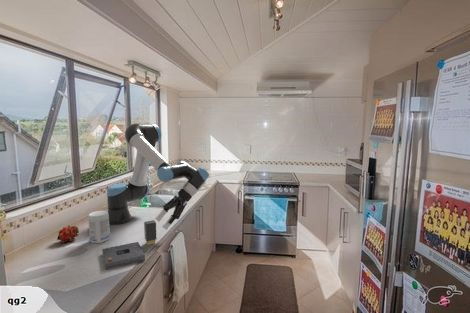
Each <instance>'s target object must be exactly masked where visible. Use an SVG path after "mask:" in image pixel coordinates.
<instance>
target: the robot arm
mask: <svg viewBox="0 0 470 313" xmlns="http://www.w3.org/2000/svg"><path fill="white" fill-rule="evenodd" d="M124 131H125V132H124V138H125V140H126V142H127V143H128V145H129V146H130V147H132V148H135V149H136V150H137V152H136V156H135V162H134V165H133V166H134V167H133V172H132V176H131V178H130V179H129V180H128V182H127V183H125V182H119V183H114V184H111V185H109V186H108V187H107V189H106V190H107V191H106V197H107V211H108V215H109V225H121V224H125V223H129V222H130V221H131V220H132V214H131V213H130V210H129V208H128V207H129V203H131V202H134V201H140V200H143V199H144V198H147V196H148V195H149V194H150V187H149V184H148V182H147V180H146V178H147V174H148V170H149V164H150V165H151V166H152V167H153V168H154V169H155V170H156V172H157V173H156V174H157V178H158V180H159V181H161V182H169V181H174V180H178V179H182V178H184V179H187V181H186V182H185V183H184V185H183V186H182V188H180V189H179V191H178V192H177V195H178V196H177V195H174V196H173V197H172V198H171V199H170V200H169V201H168V202H166V203H165V204H164V205H163V206H162V209H161V211H160V212H159V214H158V215H157V216H155V218H154V219H155V220H156V221H157V222H159V223H160V222H161V221H162V219H163V218H164V217H165V215H166V214H167V213H168V212H169V210H171V209H173V208H174V211H173V212H172V214H171V215H170V216H169V218H168V219H167V220H166V221H165V223H164V224H163V225H162V226H161V227H162V228H163V229H164V230H165V231H168V228H170V226H171V225H172V224H173V222H175V220H179V219H180V217H181V215H182V213H183V212H184V210H185V208H186V206H187V205H188V202H190V200H191V199H192V198H193V197H192V196H195V194H196V193H197V192H198V190H200V188H201V186H203V185H204V184H205V182H206V181H207V180H208V178H209V176H210V173H209V172H208V170H206V169H205V168H203V167H201V166H199V167H198V168H195V167H194V166H193V165H191V164H190V163H189V162H187V161H185V160H180V161H179V162H177V163H176V164H175V165H172V164H171V163H170V162H169V161H168V160H167V159H166V158H165V157H164V156H163V155H162V154H161V153H160V152H159V151H158V150H157V149H156V148H155V147H156V145H157V144H156V143H159V141H161V139H162V131H161V128H160V126H158V125H157V124H153V123H137V122H136V123H131V124H130V125H128V126H127V127H126V128H125V130H124Z"/></svg>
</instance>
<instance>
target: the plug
mask: <svg viewBox="0 0 470 313" xmlns="http://www.w3.org/2000/svg"><path fill="white" fill-rule="evenodd" d="M143 224H144V225H143V226H144V241H145V243H146V245H147V246H149V245H154V244H156V240H157V222H156V221H155V220H154V219H153V220H148V221H147V220H146V221H144V223H143Z"/></svg>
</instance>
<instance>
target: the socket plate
mask: <svg viewBox="0 0 470 313" xmlns="http://www.w3.org/2000/svg"><path fill="white" fill-rule="evenodd" d="M101 251H102V259H103V264H104V269H105V270H110V269H113V268H114V269H115V268H118V267H122V266H126V265H131V264H134V263H139V262H143V261H145V260H146V254H145V252H144V250H143V249H142V247H141V245H140V243H139V242H138V241H134V242H130V243H126V244H120V245H116V246H111V247H106V248H102V250H101Z"/></svg>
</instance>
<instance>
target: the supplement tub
mask: <svg viewBox="0 0 470 313" xmlns="http://www.w3.org/2000/svg"><path fill="white" fill-rule="evenodd" d="M87 218H88V230H89V231H88V232H89V242H91V244H100V243H102V244H103V243H105V242H107V241H109V239H110V238H111V233H110V232H111V231H110V230H111V229H110V224H109V215H108V210H96V211H92V212H90V213H89V214H88V216H87Z"/></svg>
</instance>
